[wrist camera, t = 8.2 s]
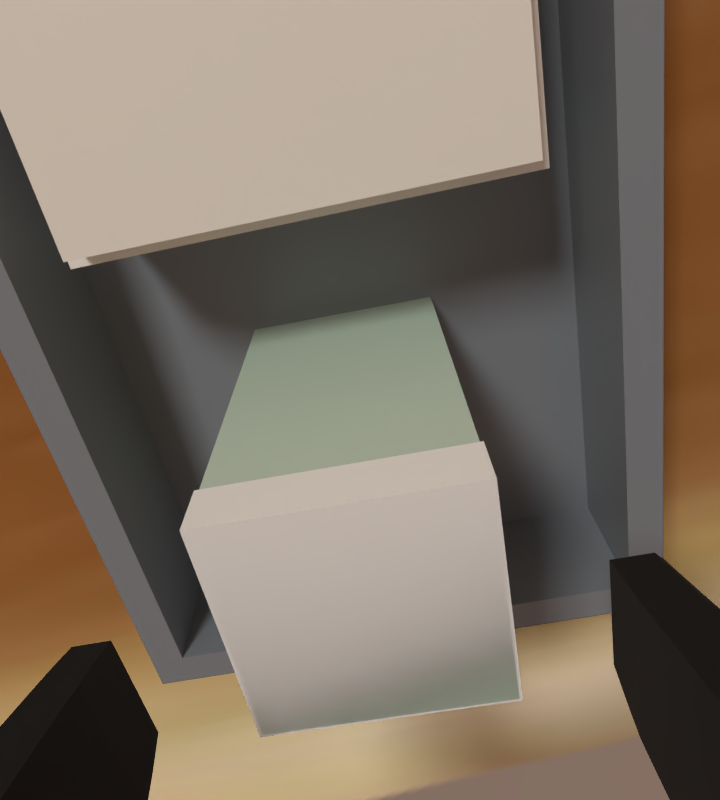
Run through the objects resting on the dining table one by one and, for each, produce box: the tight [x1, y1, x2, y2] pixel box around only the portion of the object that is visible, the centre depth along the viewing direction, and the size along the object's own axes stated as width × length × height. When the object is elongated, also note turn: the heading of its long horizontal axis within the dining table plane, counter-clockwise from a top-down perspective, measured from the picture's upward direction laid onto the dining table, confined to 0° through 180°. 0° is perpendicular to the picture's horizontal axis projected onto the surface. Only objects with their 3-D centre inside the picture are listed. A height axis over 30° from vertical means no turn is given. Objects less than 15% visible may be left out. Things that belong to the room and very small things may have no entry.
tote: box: [0, 0, 664, 684], centre depth 14 cm, size 13×21×4 cm, turn 12°
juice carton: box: [180, 297, 523, 737], centre depth 14 cm, size 4×4×8 cm
